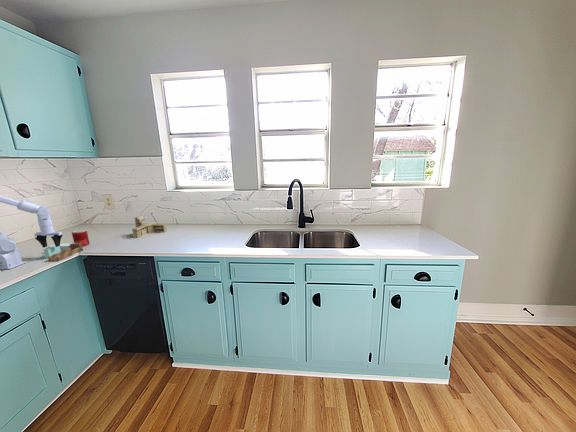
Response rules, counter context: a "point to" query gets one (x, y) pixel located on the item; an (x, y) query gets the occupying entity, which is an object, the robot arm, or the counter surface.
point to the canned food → (81, 237)
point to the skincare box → (63, 246)
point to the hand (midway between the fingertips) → (51, 246)
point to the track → (67, 252)
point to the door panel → (51, 251)
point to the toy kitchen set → (147, 227)
